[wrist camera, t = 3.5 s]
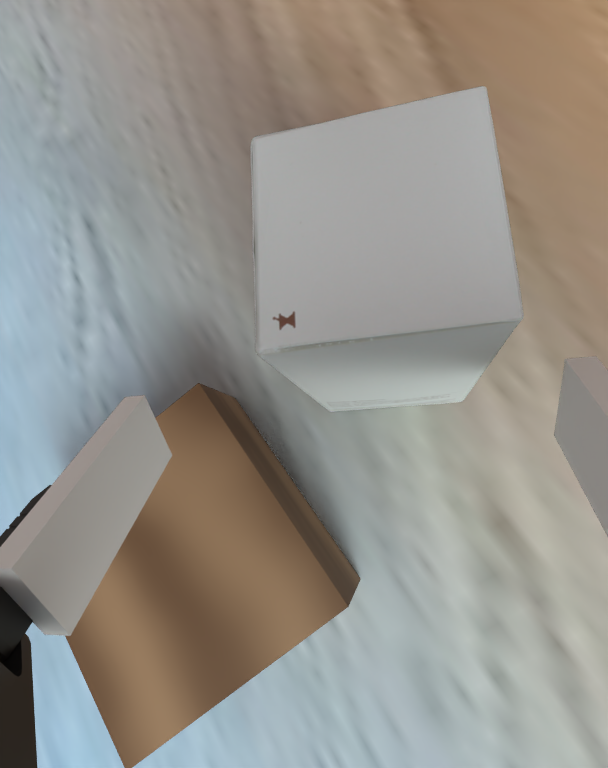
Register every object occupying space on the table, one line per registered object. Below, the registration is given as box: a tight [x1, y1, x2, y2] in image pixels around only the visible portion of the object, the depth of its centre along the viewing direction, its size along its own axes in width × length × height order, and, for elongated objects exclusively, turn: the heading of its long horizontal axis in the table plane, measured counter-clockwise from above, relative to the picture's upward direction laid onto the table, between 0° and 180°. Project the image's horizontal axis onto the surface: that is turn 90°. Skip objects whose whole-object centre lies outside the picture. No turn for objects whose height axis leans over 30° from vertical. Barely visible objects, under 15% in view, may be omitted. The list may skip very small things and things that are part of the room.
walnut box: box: [66, 383, 360, 768], centre depth 22 cm, size 12×12×5 cm
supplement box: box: [250, 86, 524, 412], centre depth 18 cm, size 7×7×13 cm
